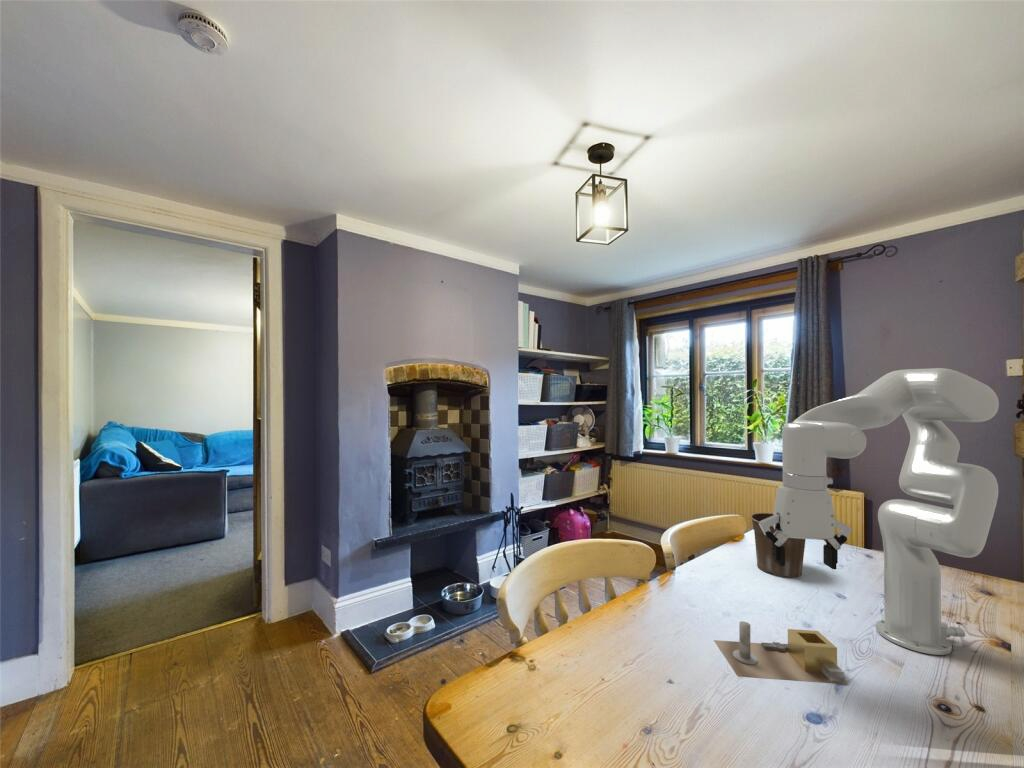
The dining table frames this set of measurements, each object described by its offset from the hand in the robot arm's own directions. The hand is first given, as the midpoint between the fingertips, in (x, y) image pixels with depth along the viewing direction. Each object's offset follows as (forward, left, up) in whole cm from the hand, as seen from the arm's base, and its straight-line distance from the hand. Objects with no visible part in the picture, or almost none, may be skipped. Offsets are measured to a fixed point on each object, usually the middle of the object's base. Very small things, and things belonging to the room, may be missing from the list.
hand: (804, 565), depth 87 cm
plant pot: (-21, -50, -21) cm, 58 cm away
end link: (-1, +1, -19) cm, 19 cm away
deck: (+6, +1, -21) cm, 22 cm away
